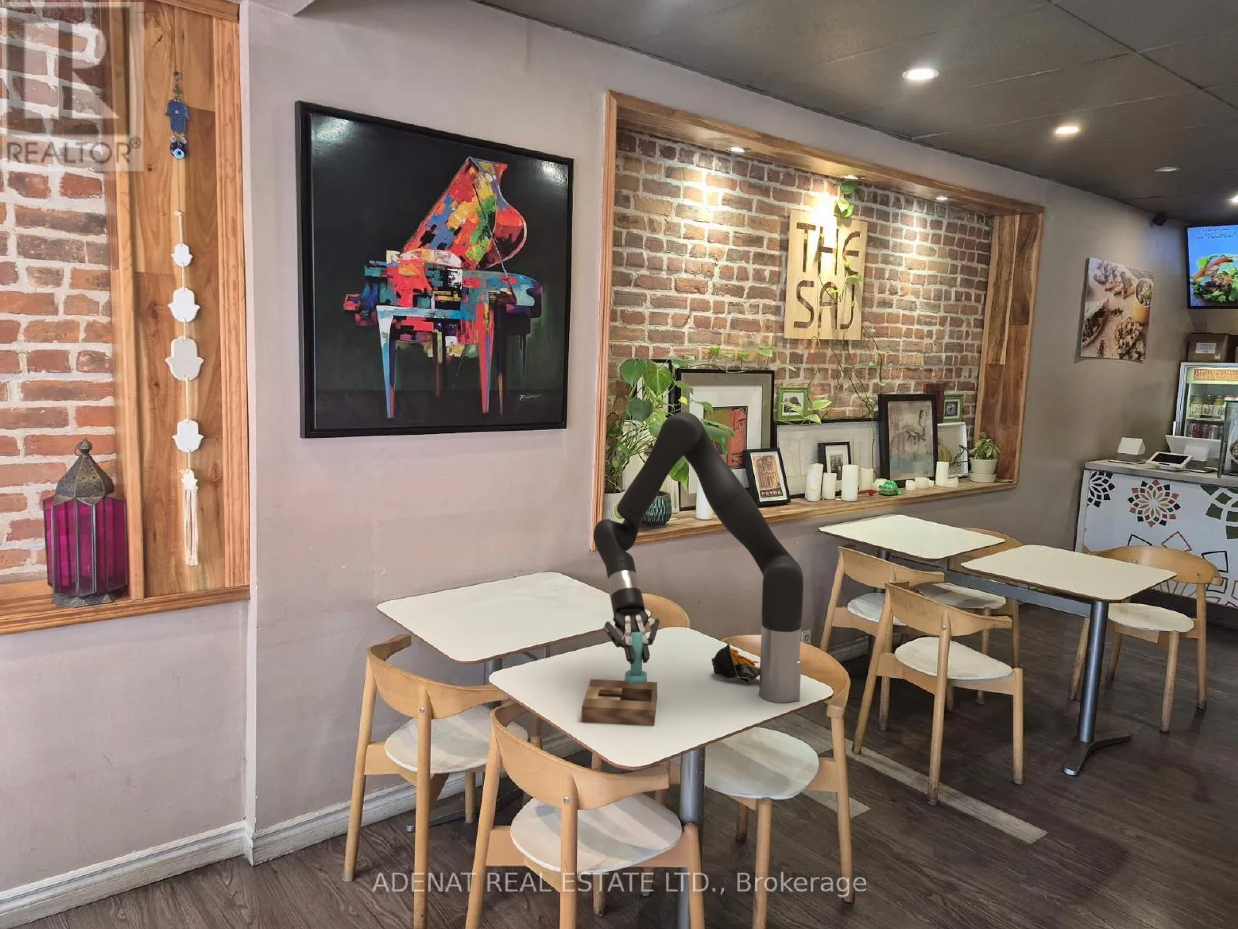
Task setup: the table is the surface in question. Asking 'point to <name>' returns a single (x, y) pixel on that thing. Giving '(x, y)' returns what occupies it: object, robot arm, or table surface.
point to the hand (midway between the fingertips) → (639, 661)
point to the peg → (636, 661)
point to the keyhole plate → (620, 702)
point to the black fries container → (734, 665)
